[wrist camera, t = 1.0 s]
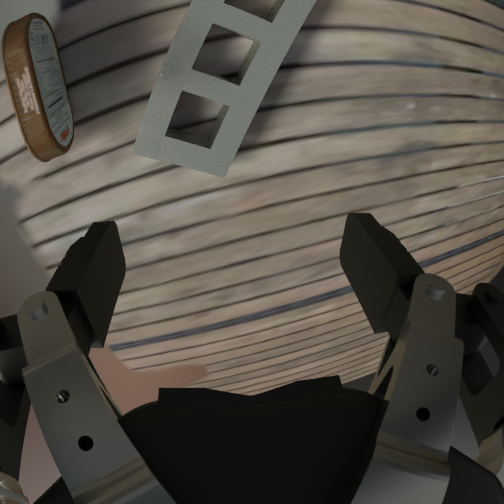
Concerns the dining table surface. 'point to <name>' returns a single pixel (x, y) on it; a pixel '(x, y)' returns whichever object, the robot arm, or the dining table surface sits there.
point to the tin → (37, 86)
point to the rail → (216, 82)
